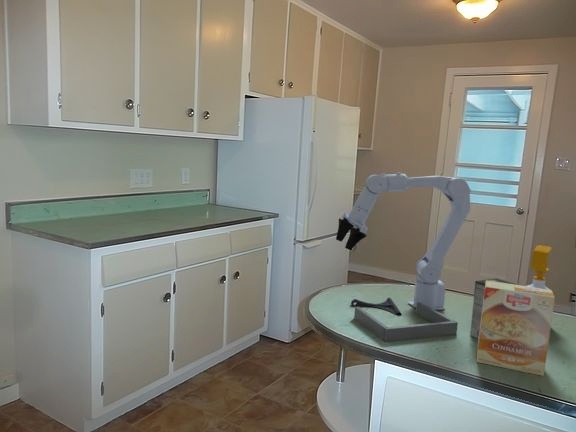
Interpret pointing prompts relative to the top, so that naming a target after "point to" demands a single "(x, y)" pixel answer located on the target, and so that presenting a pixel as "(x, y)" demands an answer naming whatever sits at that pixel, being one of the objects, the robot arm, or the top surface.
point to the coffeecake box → (515, 327)
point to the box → (437, 328)
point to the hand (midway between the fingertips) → (343, 244)
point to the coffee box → (479, 305)
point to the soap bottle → (540, 266)
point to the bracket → (379, 305)
